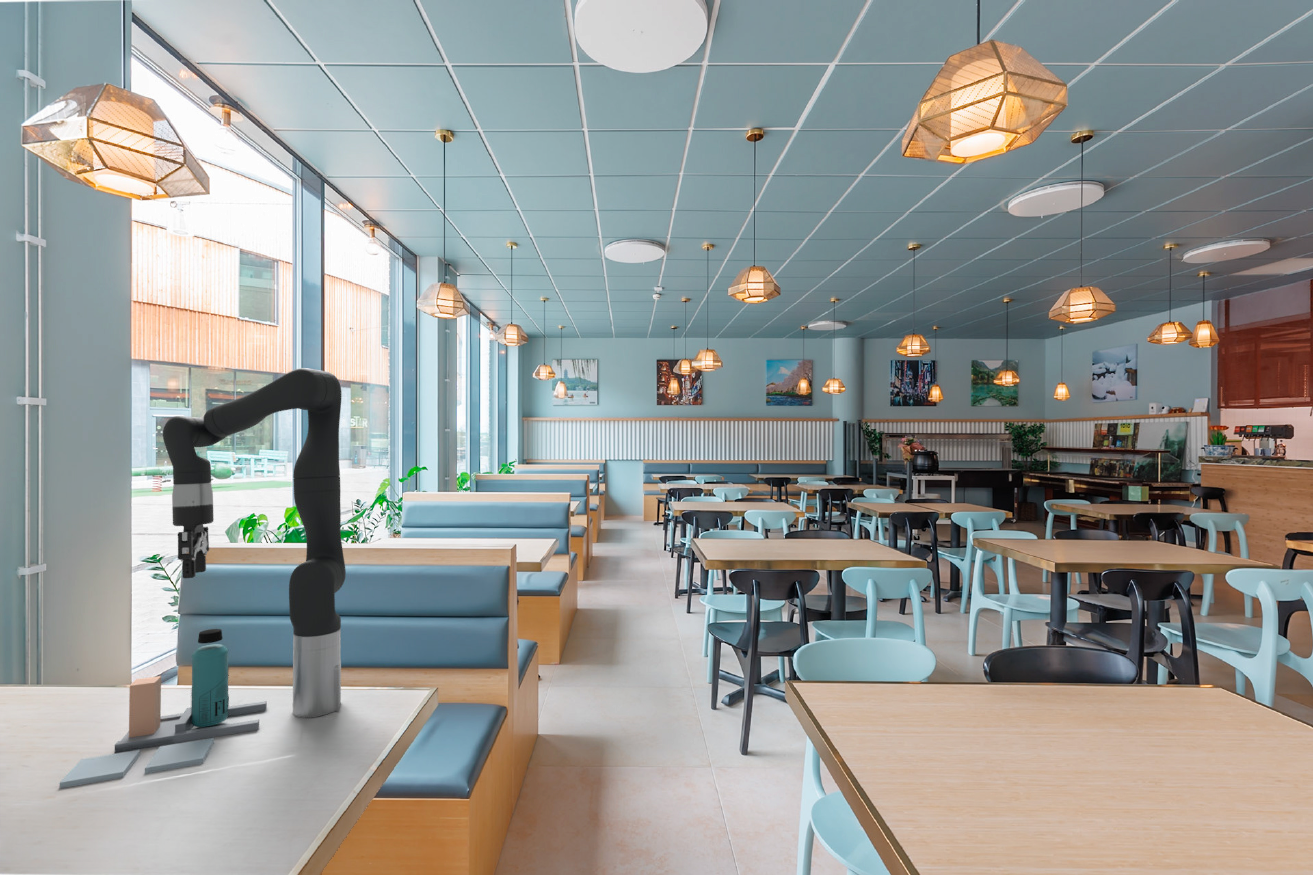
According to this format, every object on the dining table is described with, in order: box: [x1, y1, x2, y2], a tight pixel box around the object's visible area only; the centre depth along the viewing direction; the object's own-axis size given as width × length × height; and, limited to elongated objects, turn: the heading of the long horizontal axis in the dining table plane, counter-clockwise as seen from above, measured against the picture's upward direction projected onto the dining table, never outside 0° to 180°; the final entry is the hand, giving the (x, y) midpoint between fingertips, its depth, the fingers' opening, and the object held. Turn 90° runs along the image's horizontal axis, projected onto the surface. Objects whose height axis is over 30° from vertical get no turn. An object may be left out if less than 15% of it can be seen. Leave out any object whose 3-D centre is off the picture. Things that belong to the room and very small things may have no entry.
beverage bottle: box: [190, 628, 230, 728], centre depth 130 cm, size 6×7×20 cm
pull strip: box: [114, 675, 268, 754], centre depth 129 cm, size 23×12×11 cm, turn 115°
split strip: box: [59, 737, 215, 789], centre depth 114 cm, size 20×9×1 cm, turn 115°
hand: (194, 574), depth 143 cm, fingers open, 8 cm apart
